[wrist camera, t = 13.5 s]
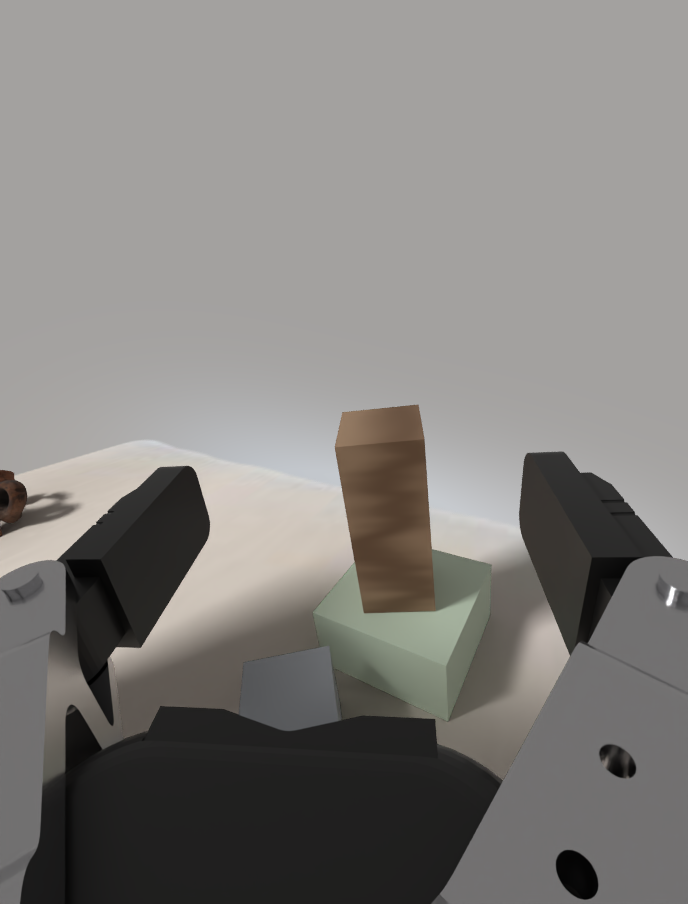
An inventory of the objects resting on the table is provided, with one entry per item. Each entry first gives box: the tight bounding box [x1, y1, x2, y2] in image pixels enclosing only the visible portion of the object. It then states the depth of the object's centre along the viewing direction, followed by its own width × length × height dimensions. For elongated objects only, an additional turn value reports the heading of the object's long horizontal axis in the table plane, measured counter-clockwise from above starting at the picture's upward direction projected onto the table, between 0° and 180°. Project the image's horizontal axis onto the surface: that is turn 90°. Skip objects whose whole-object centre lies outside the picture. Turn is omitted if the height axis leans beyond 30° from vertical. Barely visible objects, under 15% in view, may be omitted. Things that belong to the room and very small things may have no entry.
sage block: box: [313, 549, 491, 722], centre depth 30 cm, size 9×9×5 cm
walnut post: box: [335, 405, 436, 613], centre depth 26 cm, size 4×4×12 cm
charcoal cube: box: [239, 646, 342, 731], centre depth 24 cm, size 5×5×5 cm
